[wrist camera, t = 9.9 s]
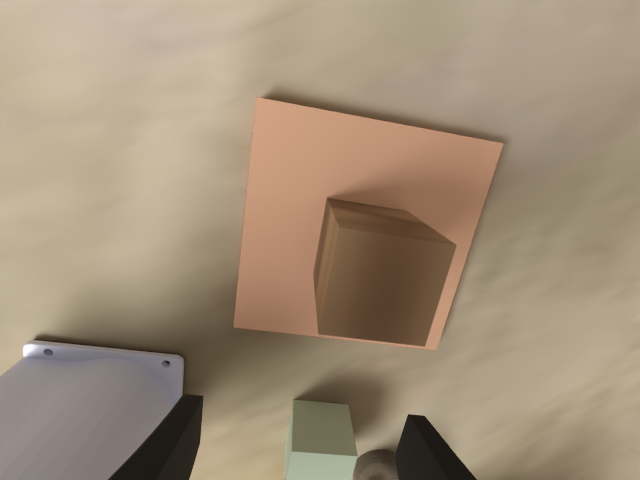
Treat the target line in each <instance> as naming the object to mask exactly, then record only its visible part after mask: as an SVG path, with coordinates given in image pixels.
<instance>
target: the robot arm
mask: <svg viewBox="0 0 640 480" xmlns="http://www.w3.org/2000/svg"><path fill="white" fill-rule="evenodd" d="M49 349H50V350H52V351H50V350H49ZM23 357H24V358H23V359H21V360H20V361H19V362H18V363H16V364H15V365H14V366H12V367H11V368H10V369H9V370H7V371H6V372H5V373H4V374H2V375H1V376H0V480H189V478H190V475H191V472H192V468H193V465H194V462H195V458H196V455H197V451H198V447H199V444H200V435H201V422H202V408H203V396H199V395H188V394H185V395H183V375H184V359H183V358H182V357H181V356H179V355H174V354H164V353H154V352H145V351H135V350H125V349H115V348H106V347H96V346H86V345H76V344H67V343H57V342H47V341H37V340H31V341H29V342H27V343H26V344H25V345H24V346H23ZM165 361H169V362H170V363H166V362H165ZM182 395H183V396H182ZM395 461H396V467H397V473H398V478H399V480H477V479H476V478H475V477H474V476H473V475H472V473H471V472H470V471H469V470H468V469H467V468H466V466H465V465H464V464H463V463H462V462H461V460H460V459H459V458H458V457H457V455H456V454H455V453H454V452H453V451H452V449H451V448H450V447H449V446H448V444H447V443H446V442H445V441H444V439H443V438H442V437H441V436H440V434H439V433H438V432H437V431H436V429H435V428H434V427H433V426H432V424H431V423H430V422H429V421H428V420H427V418H426V417H425V416H420V415H409V414H408V417H407V420H406V423H405V426H404V429H403V432H402V436H401V439H400V442H399V445H398V448H397V451H396V454H395Z"/></svg>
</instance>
